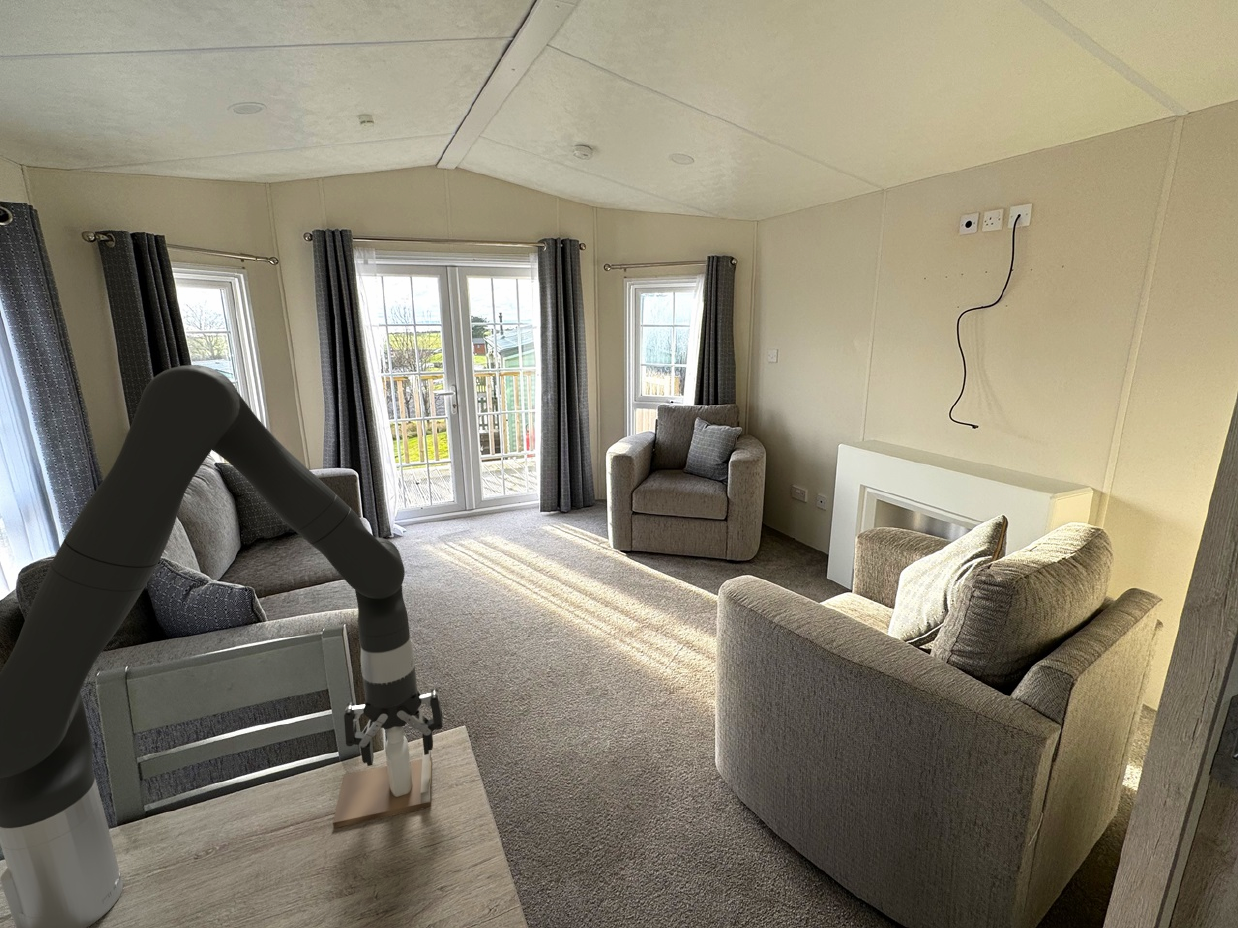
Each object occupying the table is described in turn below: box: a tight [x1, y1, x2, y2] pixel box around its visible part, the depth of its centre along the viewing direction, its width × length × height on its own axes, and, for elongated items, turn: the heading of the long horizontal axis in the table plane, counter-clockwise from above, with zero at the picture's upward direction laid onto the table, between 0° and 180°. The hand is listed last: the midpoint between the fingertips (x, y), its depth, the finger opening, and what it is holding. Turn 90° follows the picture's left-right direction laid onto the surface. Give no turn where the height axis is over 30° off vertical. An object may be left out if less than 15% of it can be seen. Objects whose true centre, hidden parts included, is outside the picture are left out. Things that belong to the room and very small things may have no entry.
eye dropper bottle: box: [384, 726, 412, 797], centre depth 94 cm, size 4×6×12 cm
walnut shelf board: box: [332, 748, 433, 829], centre depth 95 cm, size 14×10×3 cm
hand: (398, 756), depth 94 cm, fingers open, 8 cm apart
